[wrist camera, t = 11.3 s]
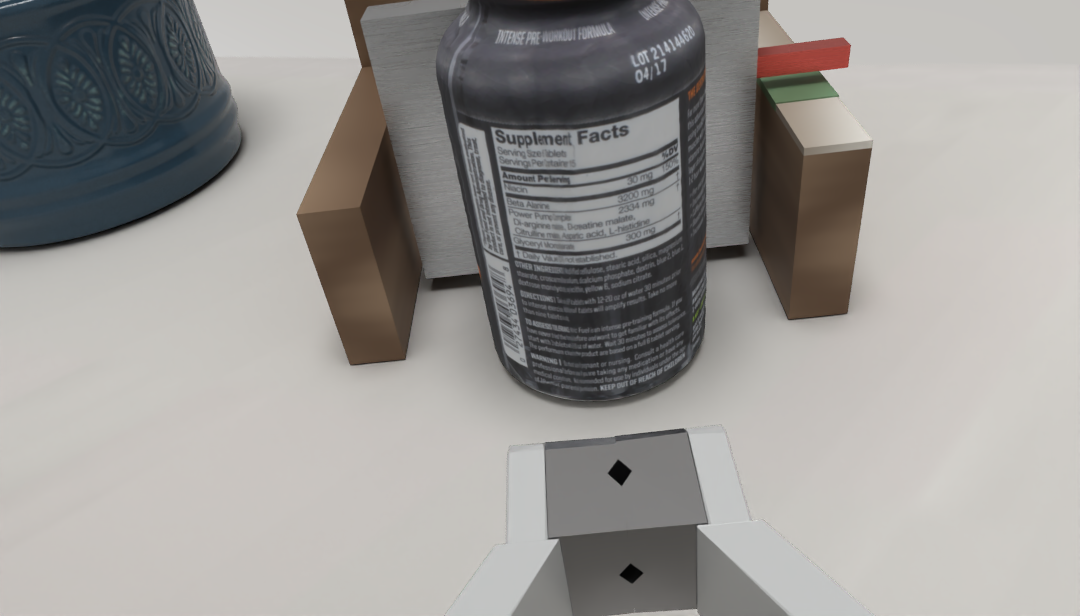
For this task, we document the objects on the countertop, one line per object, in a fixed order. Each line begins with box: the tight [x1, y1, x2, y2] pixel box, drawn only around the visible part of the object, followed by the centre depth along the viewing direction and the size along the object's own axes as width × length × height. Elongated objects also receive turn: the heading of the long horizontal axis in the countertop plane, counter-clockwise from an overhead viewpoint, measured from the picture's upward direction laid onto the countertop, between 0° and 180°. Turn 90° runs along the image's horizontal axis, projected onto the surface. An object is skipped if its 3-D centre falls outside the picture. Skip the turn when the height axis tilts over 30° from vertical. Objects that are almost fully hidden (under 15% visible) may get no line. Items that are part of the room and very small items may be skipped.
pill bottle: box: [436, 0, 707, 401], centre depth 19 cm, size 6×6×11 cm
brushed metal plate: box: [360, 0, 851, 279], centre depth 22 cm, size 12×1×8 cm, turn 91°
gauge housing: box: [296, 0, 873, 365], centre depth 25 cm, size 14×14×10 cm
